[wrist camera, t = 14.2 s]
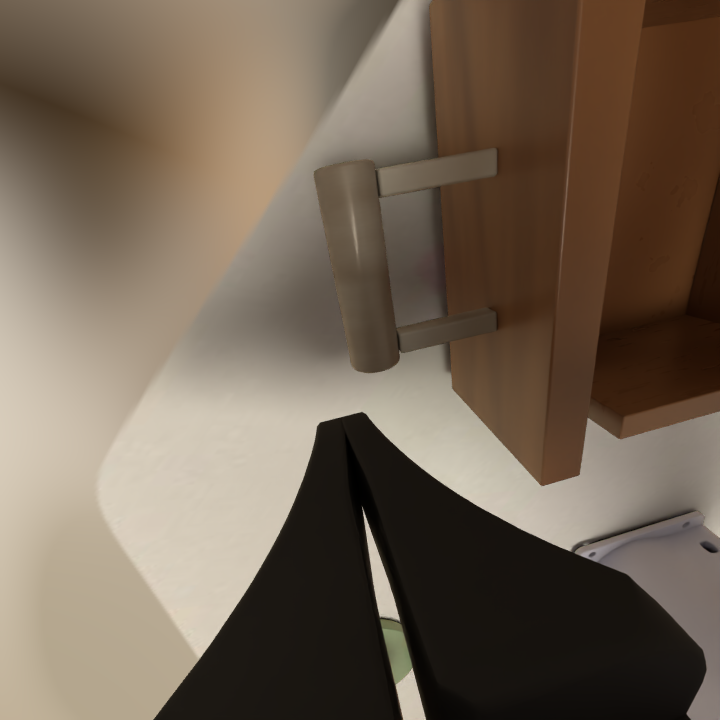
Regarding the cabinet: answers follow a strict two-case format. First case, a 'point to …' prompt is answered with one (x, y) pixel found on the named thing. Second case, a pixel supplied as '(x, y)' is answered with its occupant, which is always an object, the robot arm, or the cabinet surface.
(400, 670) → the plate
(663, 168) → the drawer
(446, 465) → the cabinet surface
